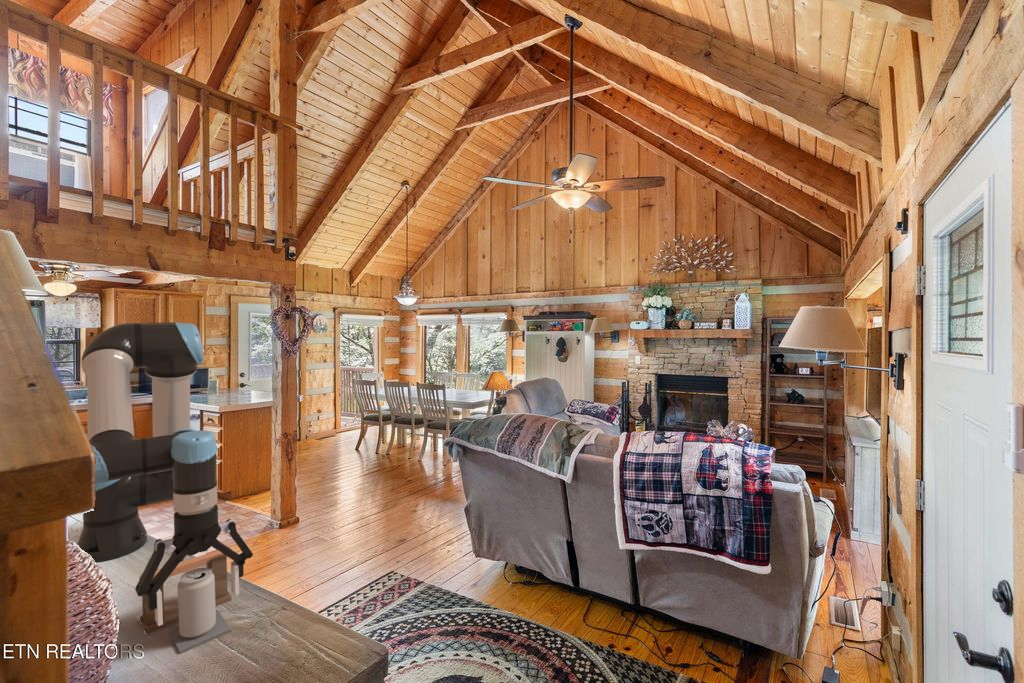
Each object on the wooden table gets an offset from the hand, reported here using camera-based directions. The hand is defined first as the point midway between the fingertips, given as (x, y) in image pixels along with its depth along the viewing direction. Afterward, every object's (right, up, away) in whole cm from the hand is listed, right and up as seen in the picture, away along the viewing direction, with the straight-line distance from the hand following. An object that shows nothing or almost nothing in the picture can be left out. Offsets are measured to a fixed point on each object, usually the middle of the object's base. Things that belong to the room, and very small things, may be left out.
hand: (199, 606), depth 98 cm
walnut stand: (-7, -5, +7) cm, 11 cm away
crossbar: (-7, +5, +6) cm, 11 cm away
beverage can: (0, -5, 0) cm, 5 cm away
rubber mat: (0, -5, 0) cm, 5 cm away
